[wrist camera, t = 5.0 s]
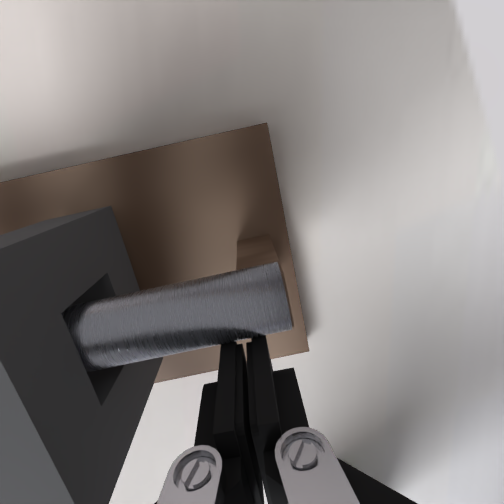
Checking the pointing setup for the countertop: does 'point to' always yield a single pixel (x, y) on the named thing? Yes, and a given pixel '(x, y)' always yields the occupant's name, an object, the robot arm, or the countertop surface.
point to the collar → (63, 364)
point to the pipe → (179, 317)
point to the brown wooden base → (179, 219)
